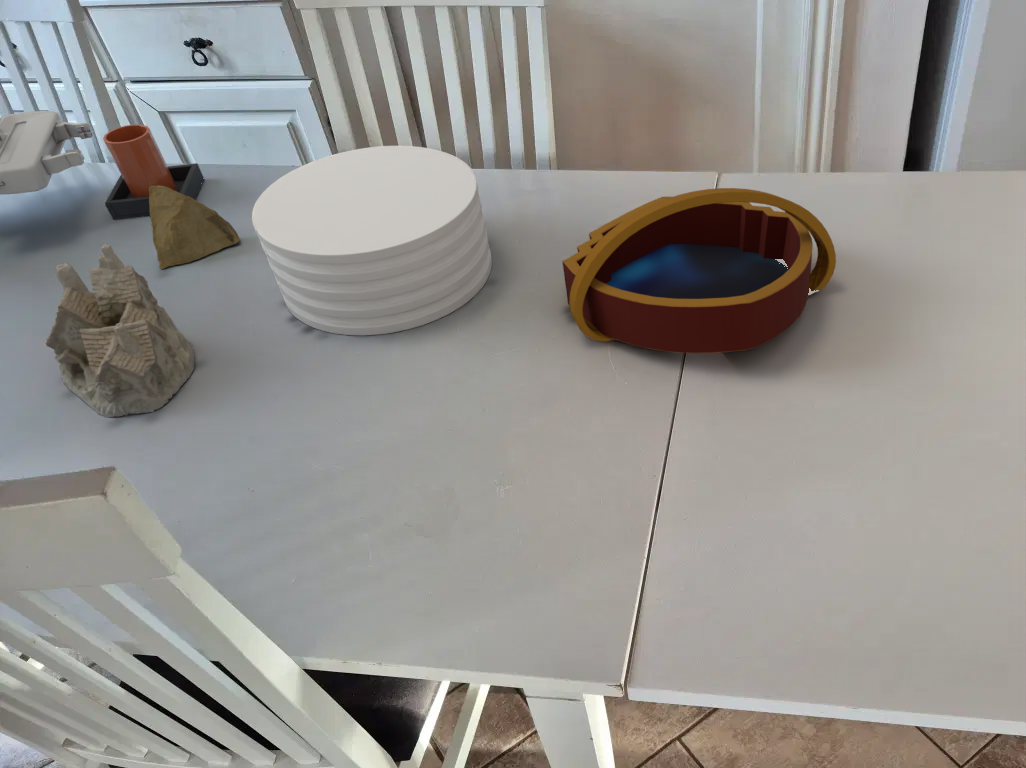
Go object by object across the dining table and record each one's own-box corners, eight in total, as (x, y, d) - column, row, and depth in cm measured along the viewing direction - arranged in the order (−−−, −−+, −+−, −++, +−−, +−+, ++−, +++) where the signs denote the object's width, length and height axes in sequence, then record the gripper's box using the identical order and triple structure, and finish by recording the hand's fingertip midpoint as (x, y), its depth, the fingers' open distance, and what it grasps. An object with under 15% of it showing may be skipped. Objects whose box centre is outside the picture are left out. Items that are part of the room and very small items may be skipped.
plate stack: (472, 206, 126) (457, 131, 118) (510, 307, 108) (495, 226, 99) (281, 243, 121) (251, 167, 113) (286, 356, 103) (251, 274, 94)
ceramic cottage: (87, 336, 107) (21, 234, 95) (216, 335, 107) (165, 233, 95) (31, 425, 97) (-51, 322, 85) (173, 424, 97) (110, 322, 85)
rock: (247, 212, 123) (177, 206, 123) (222, 186, 115) (147, 179, 114) (238, 283, 122) (167, 277, 121) (213, 262, 113) (137, 255, 113)
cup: (142, 210, 129) (109, 147, 121) (130, 195, 132) (98, 133, 125) (184, 197, 131) (154, 133, 124) (171, 182, 135) (142, 120, 128)
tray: (113, 219, 128) (104, 203, 126) (130, 187, 135) (122, 171, 133) (191, 210, 129) (183, 194, 127) (204, 179, 136) (197, 163, 134)
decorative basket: (790, 246, 119) (792, 137, 110) (882, 338, 97) (895, 211, 87) (556, 289, 115) (538, 179, 106) (596, 396, 92) (577, 269, 83)
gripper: (-47, 169, 113) (63, 152, 115) (-13, 109, 126) (85, 95, 129) (-19, 212, 117) (87, 194, 120) (12, 150, 131) (106, 135, 133)
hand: (86, 142), depth 124 cm, fingers open, 8 cm apart
